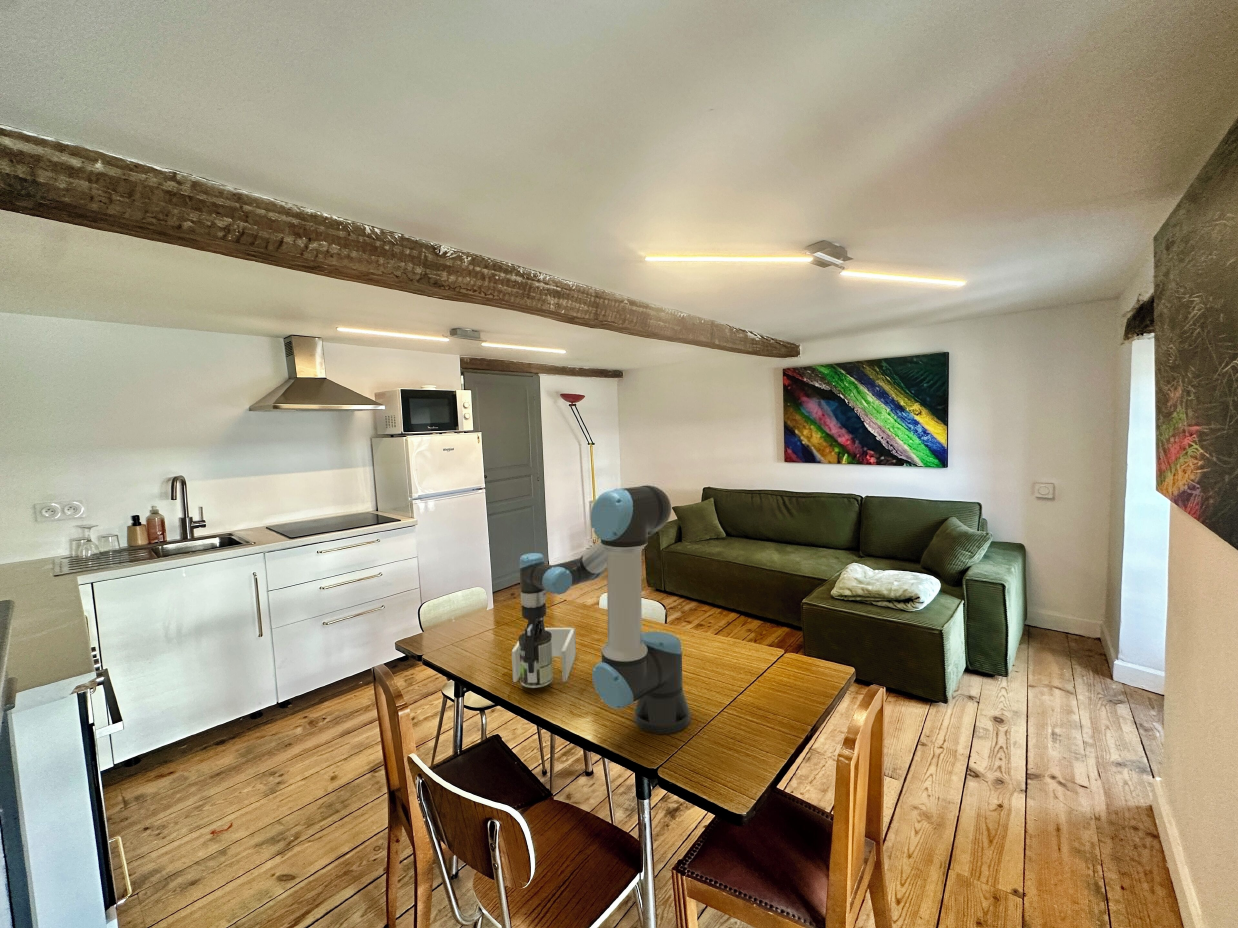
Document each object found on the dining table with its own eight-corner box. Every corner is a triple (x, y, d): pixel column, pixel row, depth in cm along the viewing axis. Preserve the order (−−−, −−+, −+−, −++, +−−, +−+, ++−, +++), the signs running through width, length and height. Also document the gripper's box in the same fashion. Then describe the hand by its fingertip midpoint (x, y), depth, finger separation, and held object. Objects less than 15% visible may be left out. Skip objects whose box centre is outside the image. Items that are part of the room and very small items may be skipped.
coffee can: (523, 691, 146) (521, 645, 146) (518, 675, 156) (516, 632, 155) (556, 683, 150) (554, 638, 149) (549, 669, 159) (547, 627, 159)
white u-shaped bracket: (566, 681, 156) (565, 651, 155) (513, 681, 157) (511, 651, 157) (575, 655, 175) (574, 627, 174) (528, 655, 176) (527, 628, 176)
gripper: (536, 616, 140) (539, 692, 141) (553, 592, 163) (556, 657, 164) (510, 616, 141) (514, 691, 142) (531, 592, 163) (534, 657, 164)
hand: (536, 673), depth 153 cm, fingers closed on coffee can, 10 cm apart
